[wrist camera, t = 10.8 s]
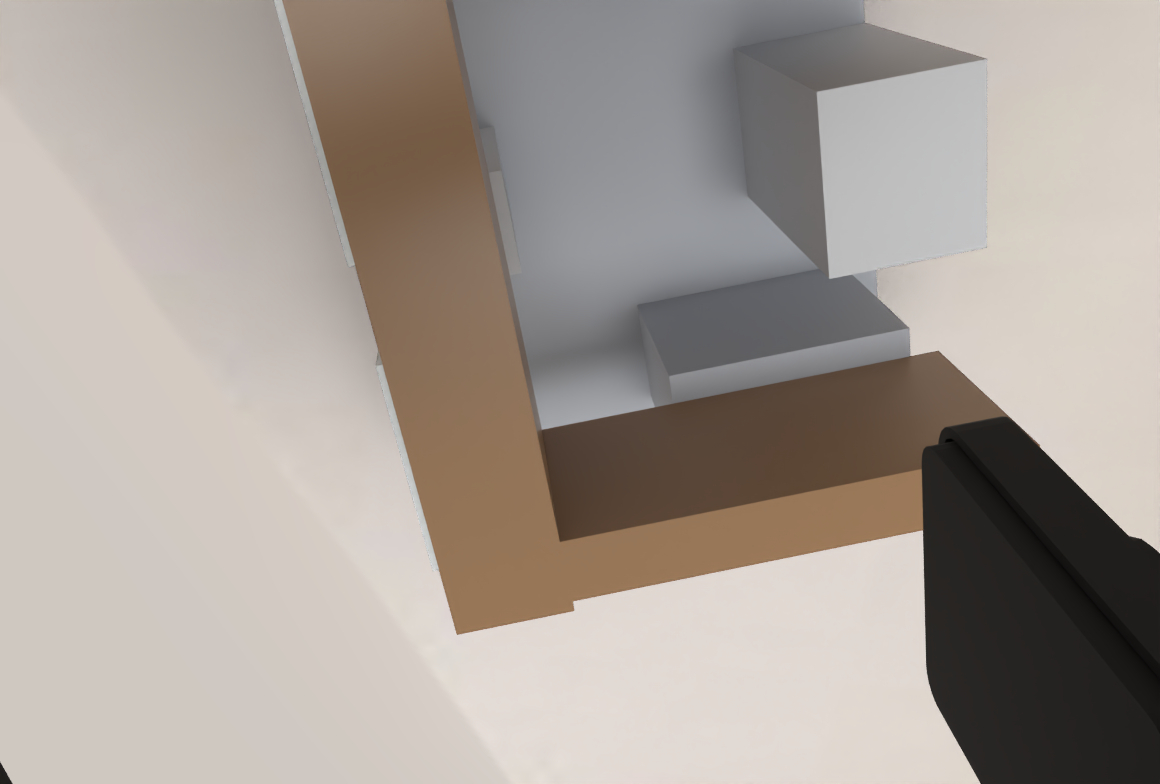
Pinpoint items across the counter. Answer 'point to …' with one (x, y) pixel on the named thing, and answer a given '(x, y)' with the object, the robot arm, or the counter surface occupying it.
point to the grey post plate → (715, 187)
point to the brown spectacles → (503, 382)
